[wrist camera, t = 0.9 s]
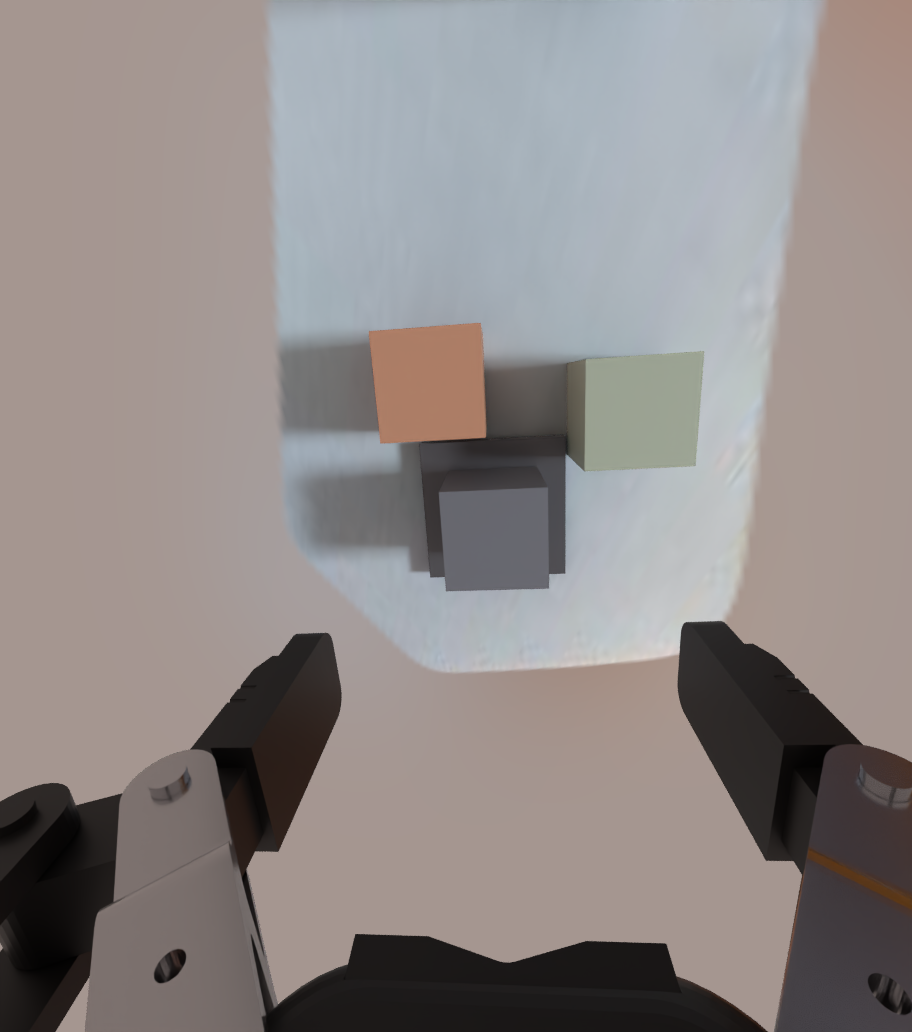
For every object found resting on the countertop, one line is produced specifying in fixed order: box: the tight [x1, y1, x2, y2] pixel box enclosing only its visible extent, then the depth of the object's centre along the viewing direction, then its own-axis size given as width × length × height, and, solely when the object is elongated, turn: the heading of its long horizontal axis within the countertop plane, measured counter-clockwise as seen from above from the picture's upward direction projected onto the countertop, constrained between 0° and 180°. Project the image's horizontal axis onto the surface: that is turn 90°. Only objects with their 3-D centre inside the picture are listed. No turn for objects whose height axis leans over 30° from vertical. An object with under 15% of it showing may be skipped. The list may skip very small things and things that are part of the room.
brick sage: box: [567, 351, 704, 471], centre depth 26 cm, size 6×6×6 cm
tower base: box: [419, 435, 565, 591], centre depth 28 cm, size 9×9×7 cm
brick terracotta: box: [369, 323, 487, 443], centre depth 26 cm, size 6×6×6 cm
